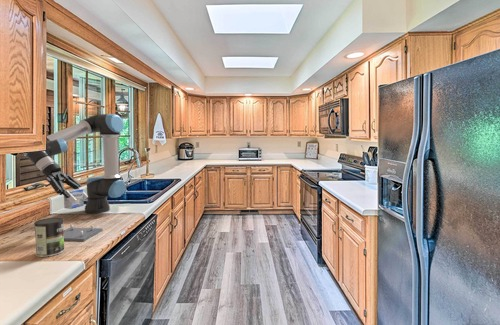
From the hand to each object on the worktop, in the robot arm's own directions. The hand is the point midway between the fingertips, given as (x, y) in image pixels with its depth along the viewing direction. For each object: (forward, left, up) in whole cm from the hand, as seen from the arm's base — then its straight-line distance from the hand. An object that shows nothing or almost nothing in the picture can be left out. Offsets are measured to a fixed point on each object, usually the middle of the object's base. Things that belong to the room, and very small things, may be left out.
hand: (80, 200), depth 146 cm
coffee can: (+22, +1, -18) cm, 29 cm away
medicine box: (0, -3, -4) cm, 5 cm away
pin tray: (0, -2, -18) cm, 18 cm away
